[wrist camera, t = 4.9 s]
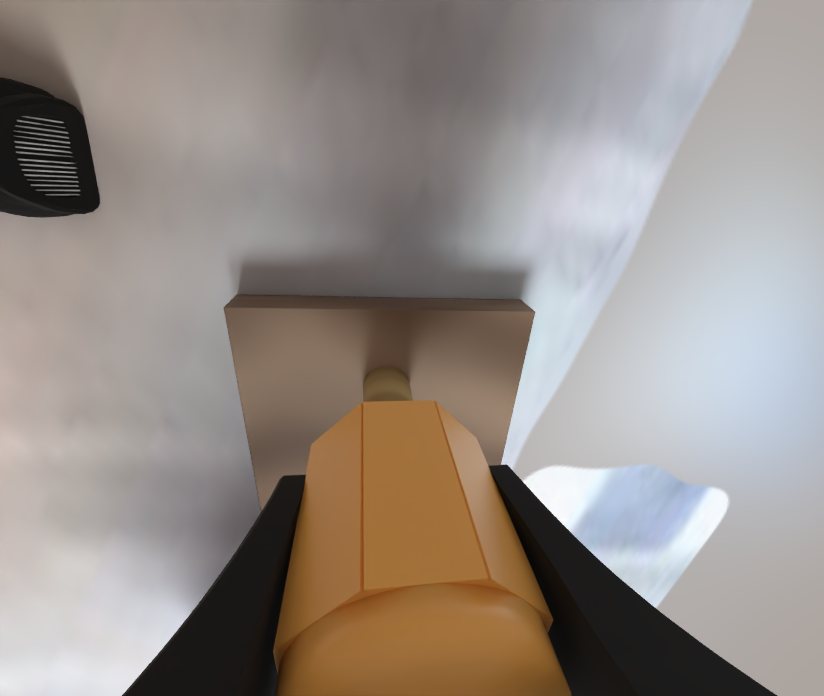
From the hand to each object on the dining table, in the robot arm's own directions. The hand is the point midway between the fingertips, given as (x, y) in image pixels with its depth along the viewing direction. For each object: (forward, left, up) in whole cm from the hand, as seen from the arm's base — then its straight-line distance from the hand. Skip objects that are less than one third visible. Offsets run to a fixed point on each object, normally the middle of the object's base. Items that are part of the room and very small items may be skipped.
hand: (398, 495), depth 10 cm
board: (-4, 0, -7) cm, 8 cm away
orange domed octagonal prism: (0, 0, -1) cm, 1 cm away
